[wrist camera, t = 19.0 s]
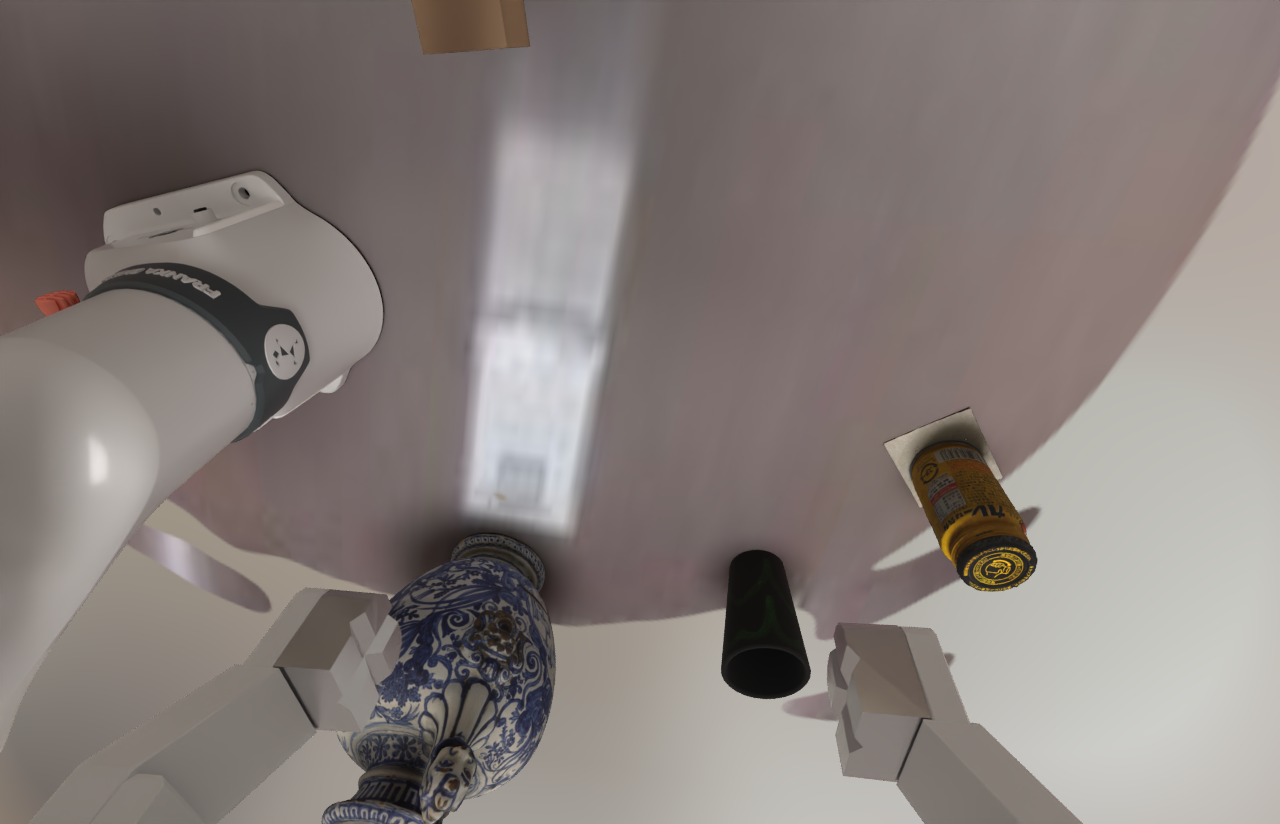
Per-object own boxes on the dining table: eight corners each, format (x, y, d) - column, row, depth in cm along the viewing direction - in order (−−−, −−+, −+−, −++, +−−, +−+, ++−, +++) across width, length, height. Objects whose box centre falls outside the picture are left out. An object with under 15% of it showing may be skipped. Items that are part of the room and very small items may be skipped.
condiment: (919, 506, 55) (966, 612, 45) (883, 442, 52) (924, 540, 42) (1001, 475, 52) (1070, 581, 42) (969, 406, 49) (1035, 502, 39)
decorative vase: (525, 650, 73) (432, 941, 49) (389, 578, 69) (215, 859, 45) (622, 556, 62) (564, 867, 39) (468, 465, 58) (298, 752, 34)
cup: (746, 603, 64) (753, 708, 54) (705, 562, 62) (703, 664, 52) (808, 576, 61) (827, 682, 51) (767, 531, 58) (779, 634, 48)
